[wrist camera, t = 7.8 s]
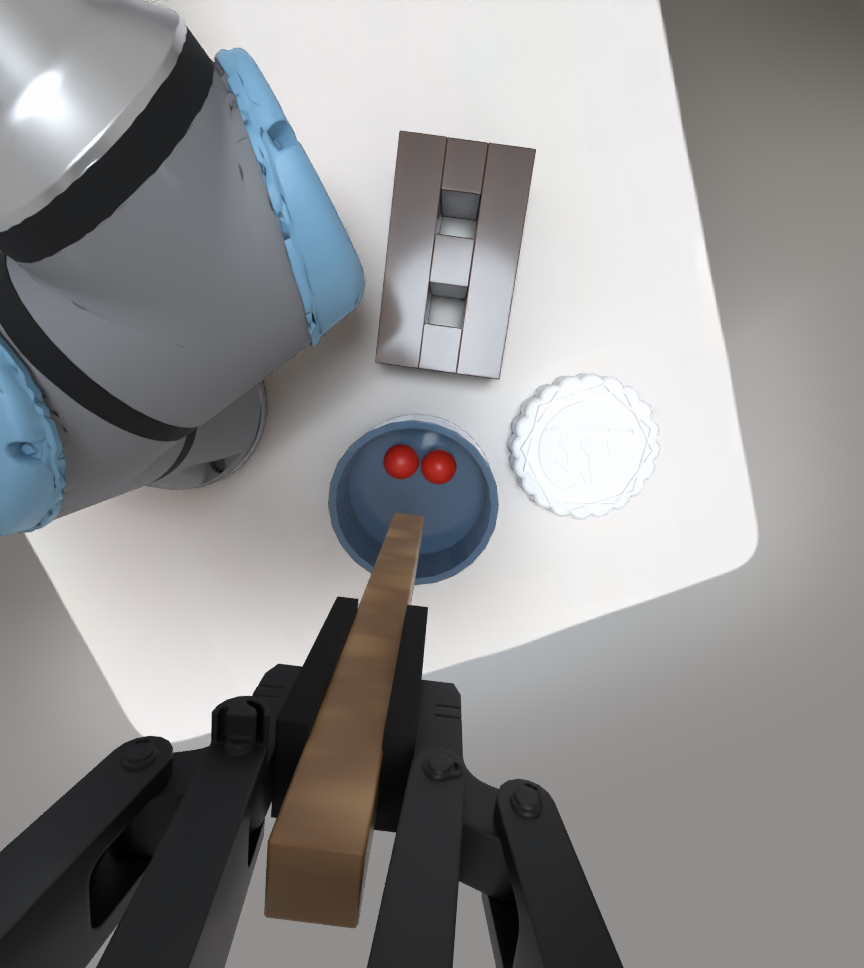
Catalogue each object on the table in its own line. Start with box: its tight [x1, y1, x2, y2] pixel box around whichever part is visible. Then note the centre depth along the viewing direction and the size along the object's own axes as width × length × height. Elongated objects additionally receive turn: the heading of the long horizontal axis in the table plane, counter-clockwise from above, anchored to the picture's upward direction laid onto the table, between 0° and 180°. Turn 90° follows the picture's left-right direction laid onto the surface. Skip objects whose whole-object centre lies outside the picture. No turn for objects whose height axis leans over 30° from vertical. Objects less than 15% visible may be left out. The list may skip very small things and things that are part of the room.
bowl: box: [328, 414, 499, 585], centre depth 42 cm, size 13×13×6 cm
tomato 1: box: [383, 444, 419, 479], centre depth 42 cm, size 3×3×3 cm
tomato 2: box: [421, 449, 457, 485], centre depth 42 cm, size 3×3×3 cm
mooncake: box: [508, 373, 660, 520], centre depth 42 cm, size 12×12×4 cm
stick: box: [264, 513, 424, 928], centre depth 20 cm, size 2×2×22 cm
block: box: [375, 131, 536, 379], centre depth 38 cm, size 9×15×6 cm, turn 172°
